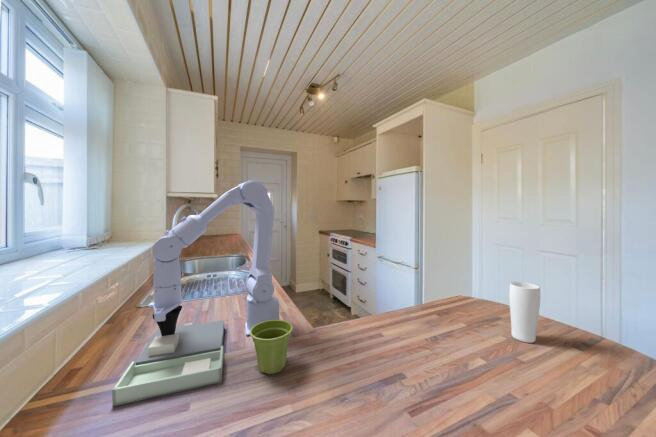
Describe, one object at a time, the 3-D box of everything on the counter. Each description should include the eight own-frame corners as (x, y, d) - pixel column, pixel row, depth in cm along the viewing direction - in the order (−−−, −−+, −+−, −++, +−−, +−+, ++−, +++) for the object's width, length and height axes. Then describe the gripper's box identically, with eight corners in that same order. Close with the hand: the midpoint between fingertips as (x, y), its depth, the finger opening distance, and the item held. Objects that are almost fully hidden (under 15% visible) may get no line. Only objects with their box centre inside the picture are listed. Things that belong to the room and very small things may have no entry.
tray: (223, 357, 59) (223, 345, 59) (221, 382, 51) (221, 368, 51) (132, 375, 53) (132, 361, 53) (112, 406, 44) (112, 390, 44)
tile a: (208, 371, 50) (208, 381, 50) (210, 357, 55) (210, 366, 55) (180, 377, 49) (180, 387, 49) (185, 362, 53) (185, 371, 53)
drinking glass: (534, 335, 70) (535, 283, 69) (543, 347, 64) (544, 290, 63) (505, 330, 73) (506, 280, 72) (511, 341, 67) (512, 286, 66)
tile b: (178, 341, 62) (178, 333, 62) (174, 352, 57) (173, 343, 57) (155, 345, 60) (155, 337, 60) (148, 356, 55) (148, 347, 55)
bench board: (224, 328, 74) (224, 320, 74) (221, 357, 59) (221, 347, 59) (157, 338, 68) (157, 329, 68) (135, 373, 53) (135, 362, 53)
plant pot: (254, 385, 50) (254, 343, 49) (247, 360, 58) (246, 324, 58) (298, 371, 54) (298, 333, 54) (285, 350, 62) (285, 316, 62)
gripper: (157, 278, 67) (158, 327, 67) (137, 295, 53) (138, 357, 54) (187, 276, 69) (187, 323, 70) (174, 292, 56) (175, 351, 56)
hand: (168, 338), depth 62 cm, fingers closed
